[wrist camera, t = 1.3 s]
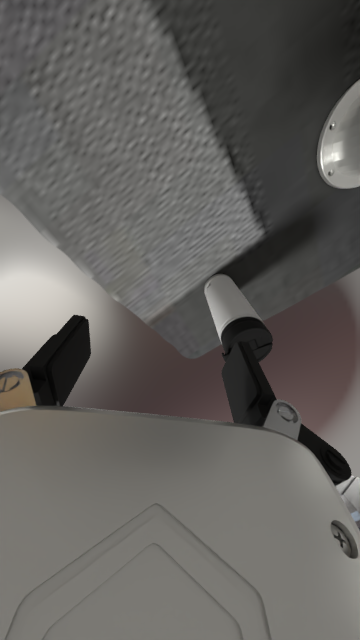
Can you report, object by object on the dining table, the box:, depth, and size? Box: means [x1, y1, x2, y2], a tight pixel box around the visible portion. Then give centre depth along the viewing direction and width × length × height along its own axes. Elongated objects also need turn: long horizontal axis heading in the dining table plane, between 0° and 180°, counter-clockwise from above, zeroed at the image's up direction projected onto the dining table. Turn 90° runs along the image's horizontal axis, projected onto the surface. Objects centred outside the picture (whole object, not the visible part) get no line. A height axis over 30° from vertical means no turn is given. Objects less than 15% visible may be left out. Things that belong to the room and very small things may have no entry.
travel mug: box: [204, 274, 273, 362], centre depth 31 cm, size 6×7×20 cm
